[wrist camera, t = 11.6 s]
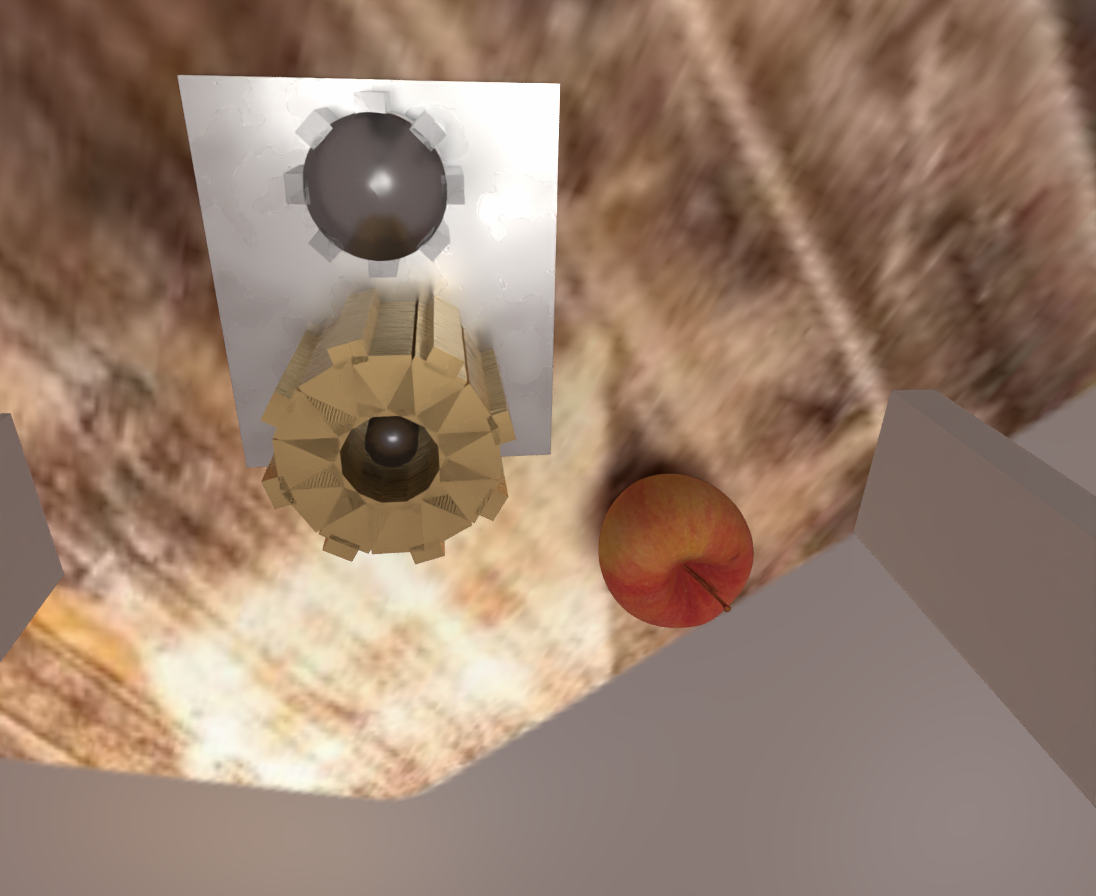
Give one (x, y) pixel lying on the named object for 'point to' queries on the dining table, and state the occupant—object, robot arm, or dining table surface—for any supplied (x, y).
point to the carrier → (379, 226)
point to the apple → (675, 551)
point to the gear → (389, 390)
